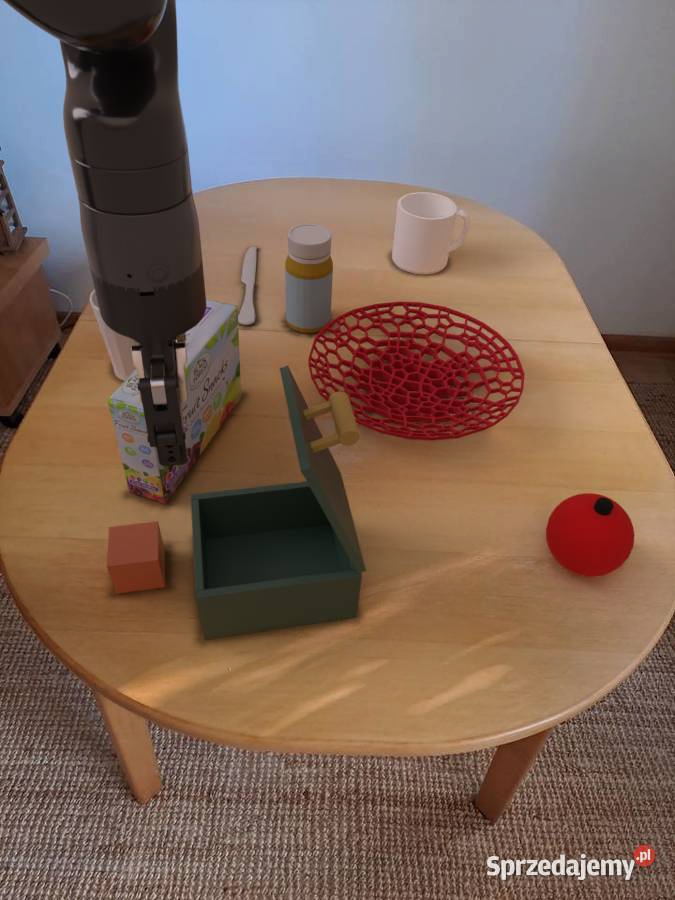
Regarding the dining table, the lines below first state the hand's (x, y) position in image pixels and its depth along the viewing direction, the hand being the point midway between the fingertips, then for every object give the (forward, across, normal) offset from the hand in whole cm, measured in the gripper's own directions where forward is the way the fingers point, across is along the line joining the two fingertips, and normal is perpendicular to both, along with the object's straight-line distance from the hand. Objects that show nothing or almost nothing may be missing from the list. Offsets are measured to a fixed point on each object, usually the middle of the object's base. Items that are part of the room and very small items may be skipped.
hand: (172, 426), depth 57 cm
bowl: (+21, -26, +31) cm, 46 cm away
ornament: (+21, +5, +42) cm, 48 cm away
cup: (+22, -36, -7) cm, 42 cm away
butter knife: (+21, -56, +11) cm, 61 cm away
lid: (+6, +2, +13) cm, 14 cm away
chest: (+21, +2, +8) cm, 23 cm away
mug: (+21, -60, +43) cm, 77 cm away
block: (+22, -1, -6) cm, 22 cm away
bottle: (+21, -44, +19) cm, 52 cm away
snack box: (+22, -20, 0) cm, 29 cm away
